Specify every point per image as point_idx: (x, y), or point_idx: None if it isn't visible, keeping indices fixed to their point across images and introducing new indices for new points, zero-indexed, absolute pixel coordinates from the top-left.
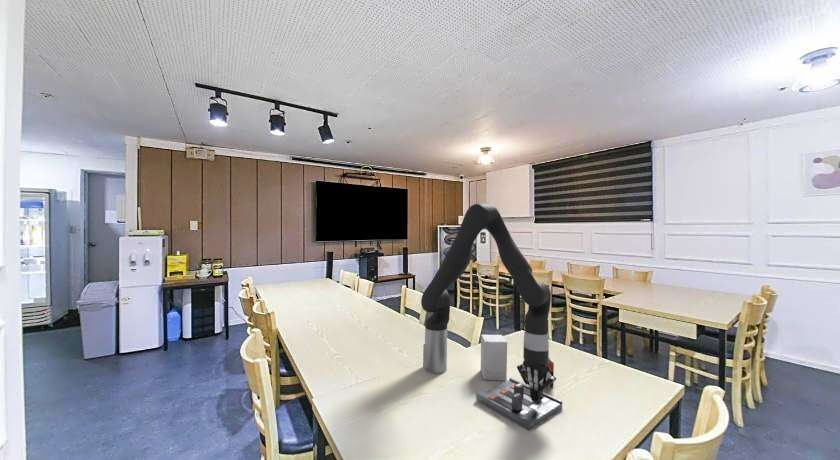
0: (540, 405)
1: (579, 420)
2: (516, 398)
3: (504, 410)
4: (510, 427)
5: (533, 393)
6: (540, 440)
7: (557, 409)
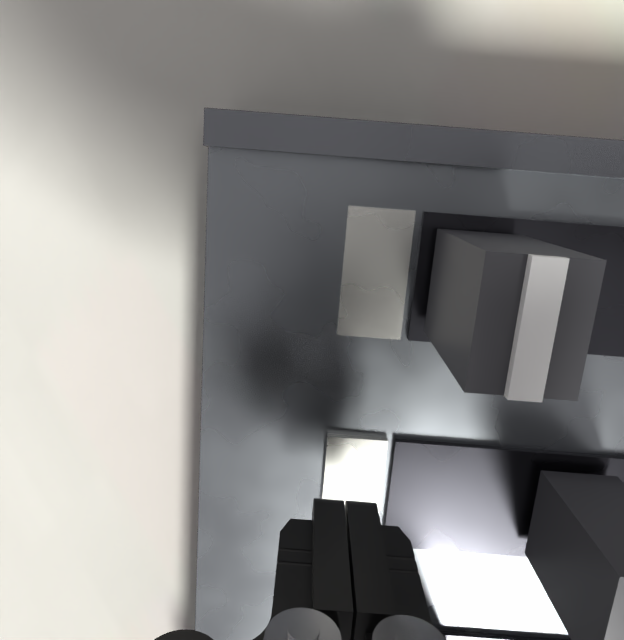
0: None
1: (21, 633)
2: (501, 250)
3: (576, 138)
4: (394, 15)
5: (353, 568)
6: (62, 66)
7: None
